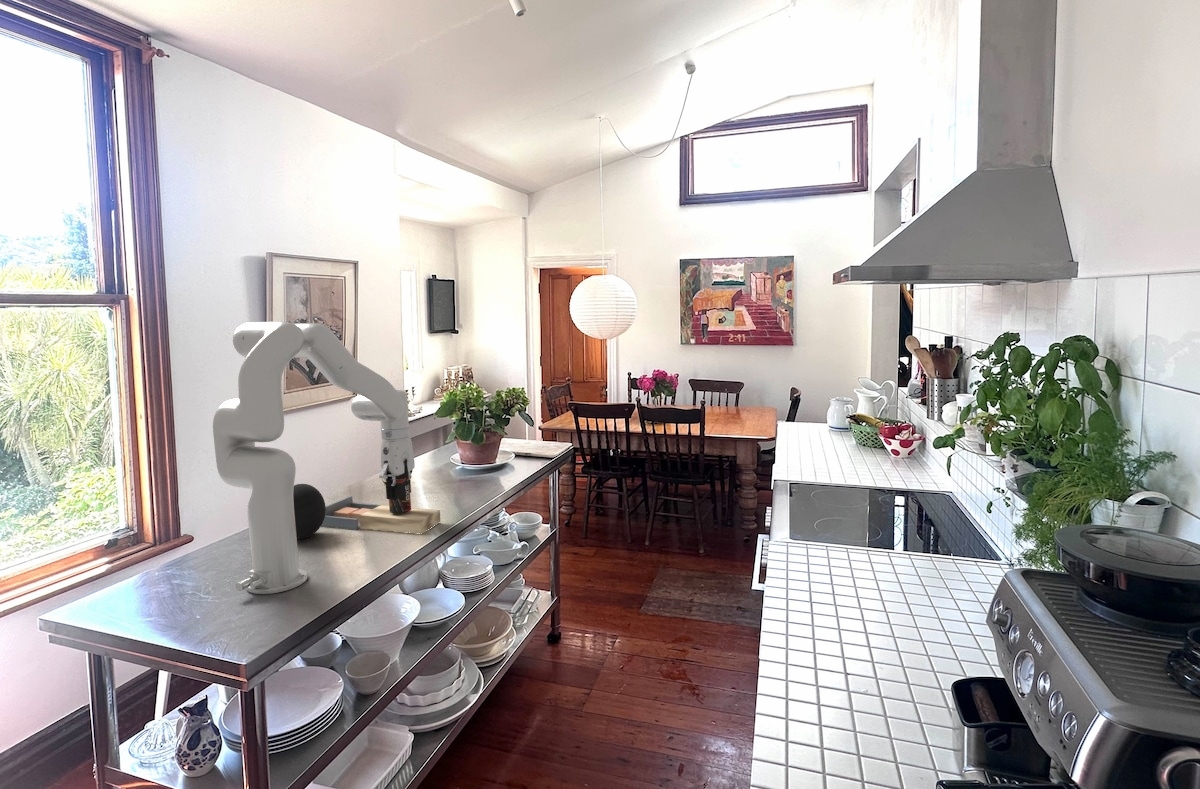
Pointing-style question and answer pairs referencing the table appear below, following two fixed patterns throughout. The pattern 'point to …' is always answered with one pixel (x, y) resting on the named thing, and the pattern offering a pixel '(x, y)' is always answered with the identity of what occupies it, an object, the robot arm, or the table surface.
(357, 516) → the tile
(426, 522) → the board
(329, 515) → the tray
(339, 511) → the tile
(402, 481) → the deodorant
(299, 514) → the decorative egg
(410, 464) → the robot arm
